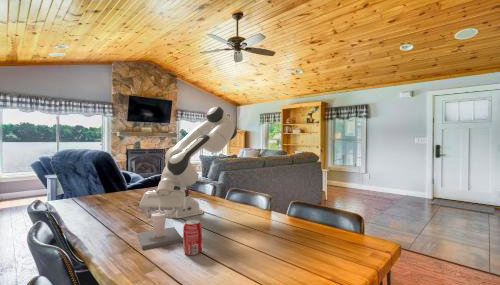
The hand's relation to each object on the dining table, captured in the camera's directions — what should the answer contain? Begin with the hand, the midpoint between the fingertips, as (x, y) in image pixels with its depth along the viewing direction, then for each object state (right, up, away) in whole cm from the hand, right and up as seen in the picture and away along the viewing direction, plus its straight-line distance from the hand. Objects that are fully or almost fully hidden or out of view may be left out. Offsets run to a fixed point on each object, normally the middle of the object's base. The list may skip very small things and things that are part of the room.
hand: (158, 218), depth 112 cm
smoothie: (0, -8, 0) cm, 8 cm away
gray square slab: (0, -9, 0) cm, 9 cm away
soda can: (+18, -10, -13) cm, 24 cm away
